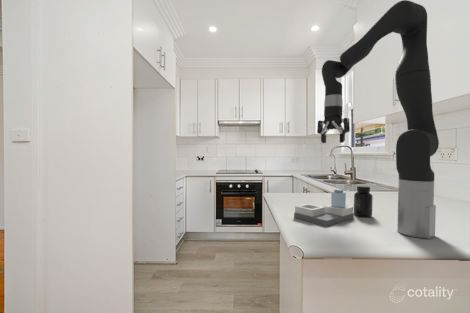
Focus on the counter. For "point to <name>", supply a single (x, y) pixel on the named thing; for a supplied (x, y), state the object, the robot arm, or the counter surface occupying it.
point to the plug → (338, 199)
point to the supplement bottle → (363, 202)
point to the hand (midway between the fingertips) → (332, 142)
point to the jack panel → (323, 214)
